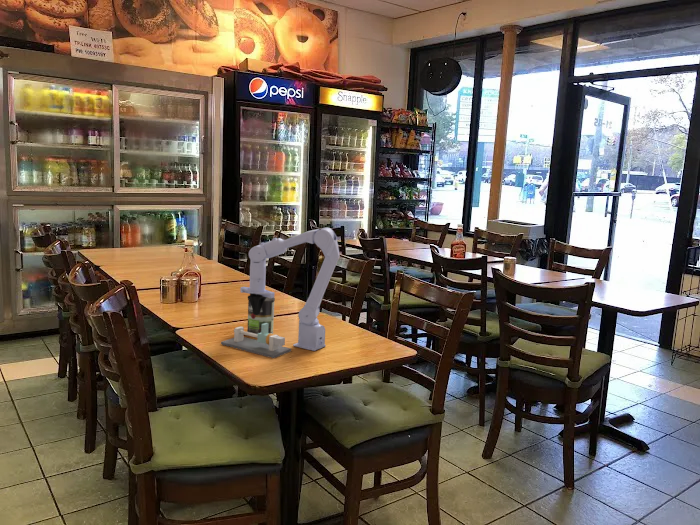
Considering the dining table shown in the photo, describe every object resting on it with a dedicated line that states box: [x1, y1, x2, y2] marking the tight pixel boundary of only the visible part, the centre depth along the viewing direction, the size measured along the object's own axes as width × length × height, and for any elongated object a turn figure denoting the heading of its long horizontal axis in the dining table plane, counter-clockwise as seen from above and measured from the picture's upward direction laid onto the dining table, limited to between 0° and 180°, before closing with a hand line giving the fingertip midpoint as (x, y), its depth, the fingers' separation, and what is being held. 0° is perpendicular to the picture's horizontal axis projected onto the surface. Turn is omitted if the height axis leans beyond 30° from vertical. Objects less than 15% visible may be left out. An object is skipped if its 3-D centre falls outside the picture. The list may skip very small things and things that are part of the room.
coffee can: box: [246, 297, 276, 334], centre depth 218 cm, size 10×10×14 cm
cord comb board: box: [220, 325, 292, 359], centre depth 199 cm, size 24×10×6 cm, turn 60°
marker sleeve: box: [256, 323, 269, 344], centre depth 197 cm, size 4×3×7 cm
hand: (256, 314), depth 206 cm, fingers closed
